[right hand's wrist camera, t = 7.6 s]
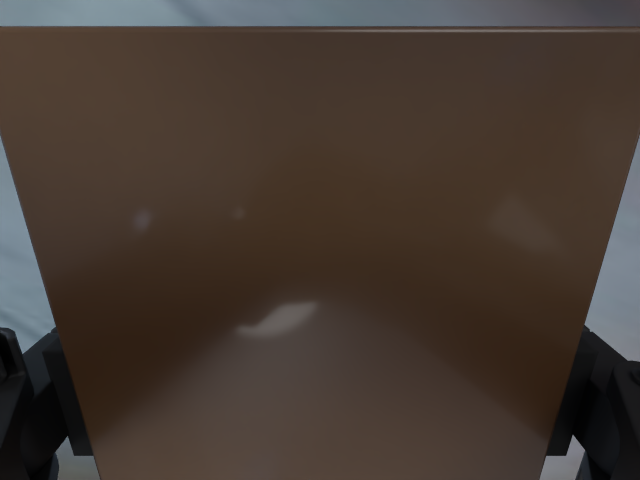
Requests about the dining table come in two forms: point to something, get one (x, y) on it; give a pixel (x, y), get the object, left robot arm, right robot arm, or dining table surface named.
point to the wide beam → (319, 237)
